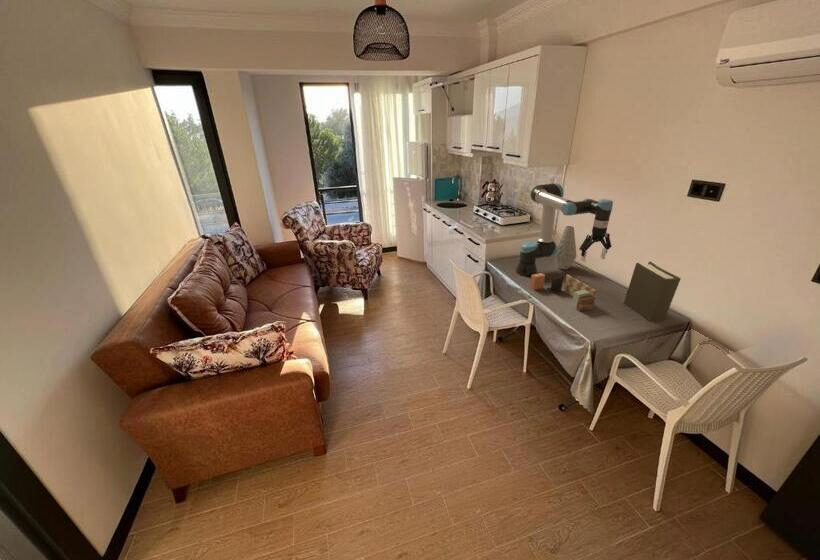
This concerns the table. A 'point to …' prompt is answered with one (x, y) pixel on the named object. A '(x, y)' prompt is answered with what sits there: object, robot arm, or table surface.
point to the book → (651, 291)
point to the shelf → (576, 285)
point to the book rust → (537, 281)
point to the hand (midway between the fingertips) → (592, 259)
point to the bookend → (556, 284)
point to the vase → (566, 249)
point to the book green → (579, 296)
